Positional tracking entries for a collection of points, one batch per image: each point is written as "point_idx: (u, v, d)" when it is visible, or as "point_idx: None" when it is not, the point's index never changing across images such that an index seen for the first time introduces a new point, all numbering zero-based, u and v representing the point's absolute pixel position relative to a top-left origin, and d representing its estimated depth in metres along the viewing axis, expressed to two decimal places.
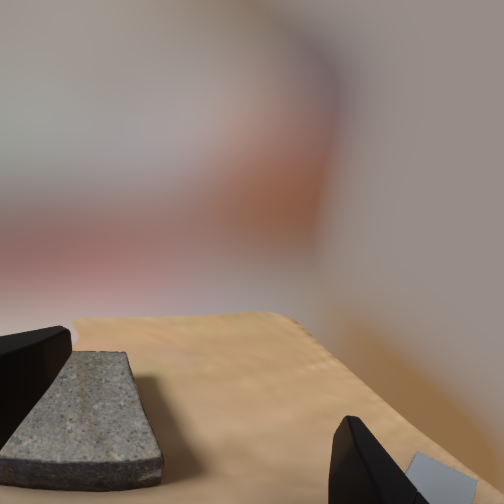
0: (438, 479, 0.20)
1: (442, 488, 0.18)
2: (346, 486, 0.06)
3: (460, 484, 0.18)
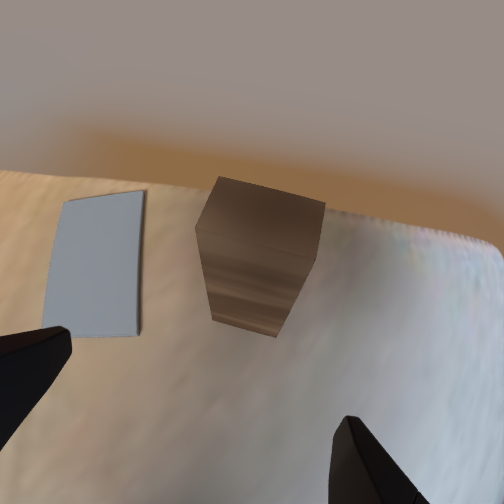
0: (91, 218, 0.27)
1: (97, 225, 0.26)
2: (346, 486, 0.06)
3: (119, 208, 0.27)
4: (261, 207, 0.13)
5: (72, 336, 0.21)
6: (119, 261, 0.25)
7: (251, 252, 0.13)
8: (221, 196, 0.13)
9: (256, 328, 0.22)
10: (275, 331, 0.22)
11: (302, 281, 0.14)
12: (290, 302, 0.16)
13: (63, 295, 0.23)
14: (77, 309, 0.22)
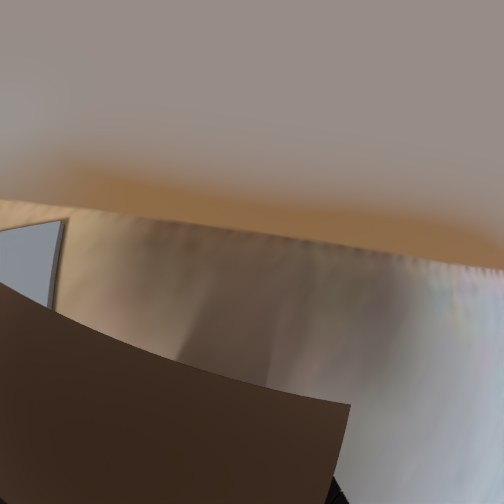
0: None
1: (3, 273, 0.16)
2: None
3: (30, 247, 0.17)
4: (90, 432, 0.03)
5: None
6: None
7: None
8: None
9: None
10: None
11: None
12: None
13: None
14: None
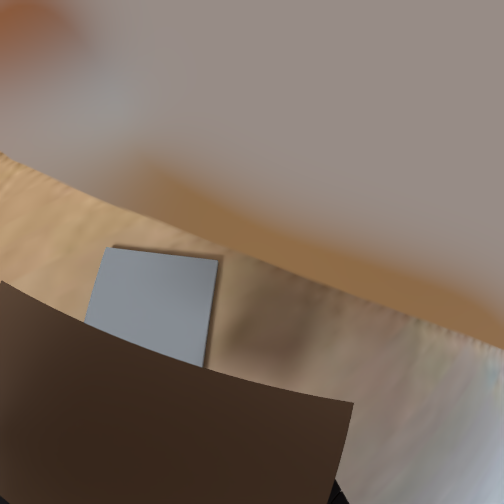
0: (142, 284, 0.21)
1: (149, 298, 0.21)
2: None
3: (183, 279, 0.22)
4: (94, 431, 0.03)
5: None
6: None
7: None
8: None
9: None
10: None
11: None
12: None
13: None
14: None
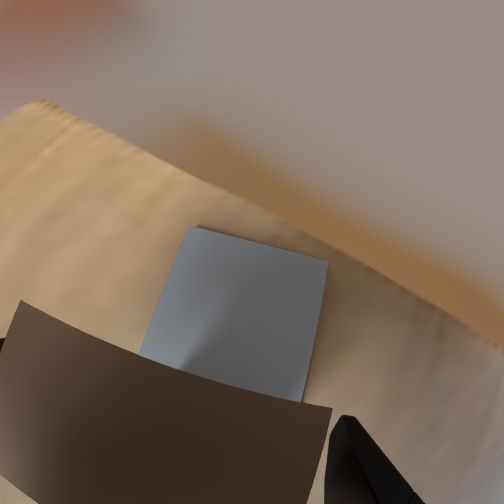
0: (236, 277, 0.18)
1: (245, 296, 0.18)
2: (342, 486, 0.06)
3: (288, 278, 0.18)
4: (110, 433, 0.03)
5: None
6: (275, 377, 0.15)
7: None
8: (16, 373, 0.03)
9: None
10: None
11: None
12: None
13: None
14: None
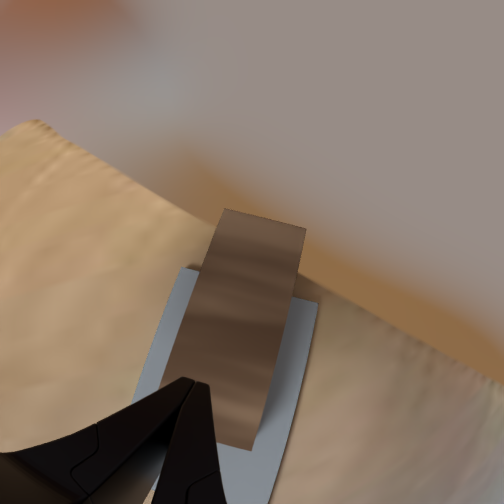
0: None
1: None
2: None
3: None
4: None
5: None
6: (263, 417, 0.15)
7: (260, 229, 0.18)
8: None
9: (223, 422, 0.13)
10: (255, 418, 0.13)
11: (298, 259, 0.17)
12: (286, 305, 0.16)
13: None
14: None
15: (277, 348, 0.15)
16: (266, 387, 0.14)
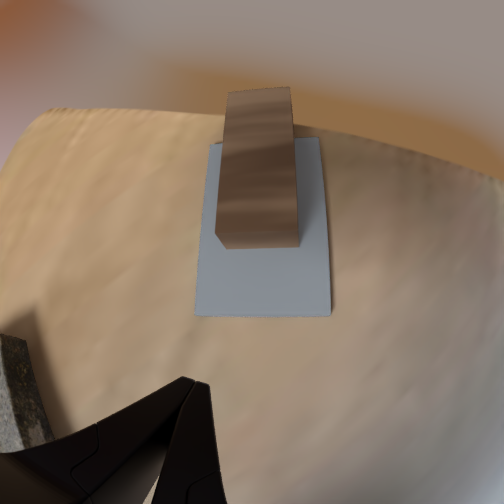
0: None
1: None
2: None
3: None
4: None
5: (241, 316, 0.20)
6: (303, 223, 0.21)
7: (257, 95, 0.22)
8: None
9: (270, 215, 0.19)
10: (293, 205, 0.19)
11: (289, 104, 0.21)
12: (290, 131, 0.21)
13: (226, 263, 0.21)
14: (248, 282, 0.21)
15: (293, 156, 0.20)
16: (293, 182, 0.19)
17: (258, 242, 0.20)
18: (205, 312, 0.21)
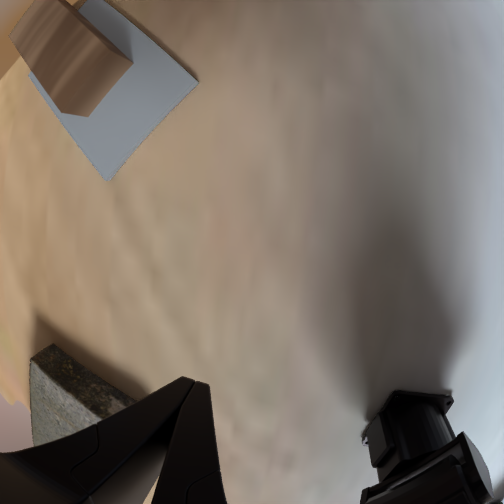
0: None
1: None
2: None
3: None
4: None
5: (135, 146, 0.19)
6: (124, 47, 0.17)
7: (27, 16, 0.14)
8: None
9: (85, 62, 0.14)
10: (95, 41, 0.14)
11: None
12: (62, 8, 0.13)
13: (95, 125, 0.18)
14: (119, 119, 0.18)
15: (74, 18, 0.14)
16: (86, 30, 0.14)
17: (98, 87, 0.16)
18: (110, 170, 0.19)
